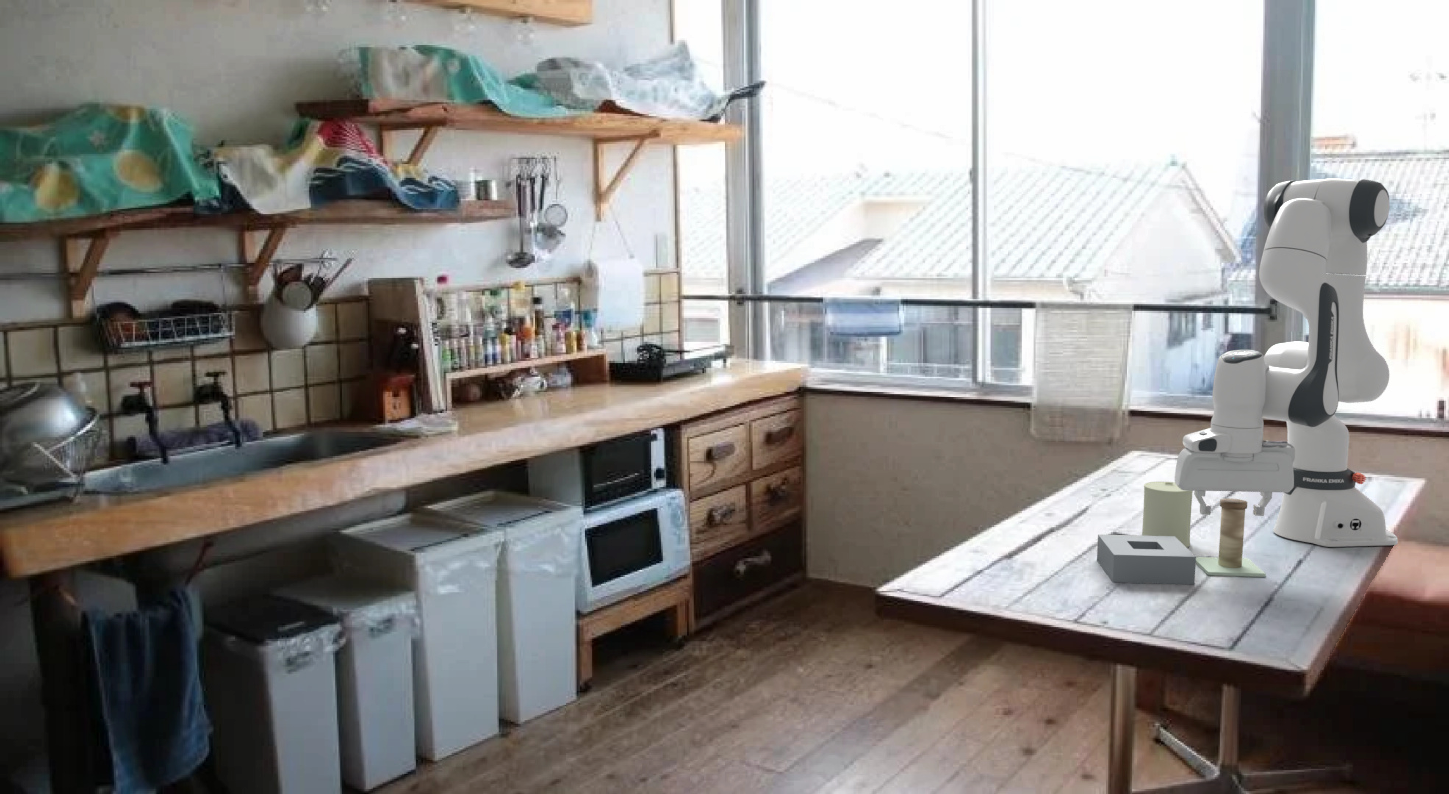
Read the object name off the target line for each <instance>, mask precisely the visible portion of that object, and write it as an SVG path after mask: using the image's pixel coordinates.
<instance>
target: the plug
mask: <svg viewBox="0 0 1449 794" xmlns="http://www.w3.org/2000/svg"><path fill="white" fill-rule="evenodd" d="M1219 506H1220V508H1221V513H1220V527H1219V528H1220V529H1219V530H1220V531H1219V545H1218V546H1219V547H1218V558H1219V560H1218V565H1220V566H1222V567H1227V568H1240V567H1242V558H1243V549H1244V538H1245V537H1244V536H1245V534H1244V533H1245V520H1246V519H1245V518H1246V509H1248V501H1247V500H1245V499H1241V498H1230V497H1229V498H1221V499H1220V501H1219Z"/></svg>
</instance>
